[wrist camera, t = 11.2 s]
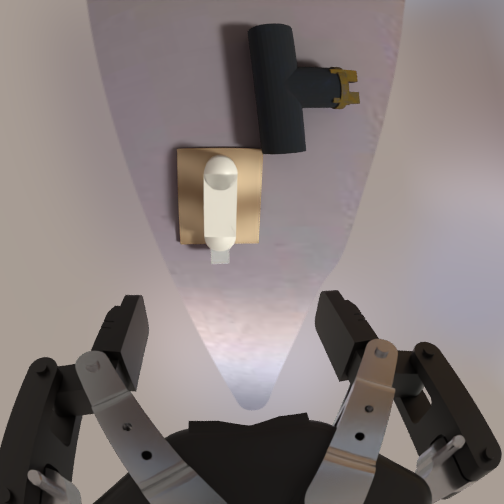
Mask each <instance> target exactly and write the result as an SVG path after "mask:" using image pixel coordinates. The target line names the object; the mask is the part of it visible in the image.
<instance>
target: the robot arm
mask: <svg viewBox="0 0 504 504" xmlns="http://www.w3.org/2000/svg"><path fill="white" fill-rule="evenodd" d="M148 326H149V325H148V319H147V315H146V310H145V305H144V300H143V297H142V295H126V296H125V297H124V299H123V301H122V303H121V306H114V307H113V308H112V309H111V310H110V311H109V312H108V313H107V315H106V317H105V320H104V322H103V324H102V326H101V329H100V331H99V333H98V335H97V338H96V340H95V342H94V345H93V347H92V349H91V351H89V352H86V353H84V354H82V355H81V356H80V357H79V358H78V359H77V361H76V364H72V365H66V366H57V364H56V362H55V361H54V360H53V359H51V358H48V357H43V358H39V359H37V360H36V361H34V362H33V363H32V364H31V366H30V367H29V369H28V372H27V374H26V376H25V379H24V381H23V383H22V386H21V388H20V391H19V393H18V396H17V398H16V401H15V404H14V407H13V409H12V412H11V415H10V418H9V421H8V424H7V427H6V430H5V433H4V437H3V440H2V444H1V447H0V504H82V503H81V496H80V492H79V490H78V489H77V488H76V486H75V485H74V484H73V483H72V474H73V466H74V458H75V453H76V446H77V440H78V435H79V429H80V425H81V420H82V415H87V414H95V416H96V418H97V420H98V422H99V424H100V426H101V428H102V430H103V431H104V433H105V435H106V437H107V439H108V440H109V442H110V444H111V445H112V447H113V449H114V450H115V452H116V454H117V455H118V457H119V458H120V460H121V462H122V463H123V465H124V466H125V468H126V469H127V471H128V473H127V474H126V475H125V476H124V477H122V478H121V479H120V480H119V481H118V482H117V483H116V484H115V485H114V486H113V487H111V488H110V489H109V490H108V491H107V492H106V493H105V494H104V495H103V496H101V497H100V498H99V499H98V500H97V501H95V502H94V503H93V504H433V503H435V502H437V501H439V500H440V499H448V498H450V497H452V496H454V495H456V494H457V493H459V492H461V491H462V490H464V489H466V488H467V487H469V486H470V485H472V484H473V483H475V482H476V481H478V480H479V479H481V478H482V477H484V476H485V475H487V474H488V473H489V472H491V471H492V470H493V469H495V468H496V467H497V466H498V464H499V463H500V460H501V449H500V446H499V444H498V442H497V440H496V439H495V437H494V435H493V433H492V431H491V429H490V428H489V426H488V424H487V422H486V421H485V419H484V417H483V415H482V414H481V412H480V410H479V409H478V407H477V405H476V404H475V403H474V401H473V399H472V397H471V396H470V394H469V393H468V391H467V389H466V388H465V386H464V385H463V383H462V382H461V380H460V379H459V377H458V376H457V374H456V373H455V371H454V370H453V368H452V367H451V365H450V364H449V363H448V361H447V360H446V358H445V357H444V356H443V354H442V353H441V351H440V350H439V349H438V348H437V347H436V346H435V345H433V344H431V343H428V342H420V343H418V344H417V345H416V346H415V348H414V350H413V351H398V350H397V349H396V347H395V346H394V345H393V344H392V343H391V342H389V341H387V340H383V339H379V338H378V337H377V335H376V334H375V332H374V331H373V329H372V328H371V326H370V325H369V323H368V322H367V320H365V317H364V316H363V315H362V314H361V312H360V310H359V309H358V308H357V306H356V305H355V304H353V303H352V302H350V301H349V300H344V298H343V297H342V295H341V294H340V293H339V291H338V290H333V291H322V292H321V294H320V298H319V302H318V307H317V312H316V316H315V327H316V331H317V333H318V335H319V337H320V340H321V342H322V344H323V346H324V348H325V351H326V353H327V355H328V357H329V359H330V362H331V364H332V366H333V368H334V370H335V373H336V375H337V377H338V379H339V382H340V381H345V380H349V382H350V385H349V388H348V390H347V393H346V395H345V398H344V400H343V403H342V405H341V408H340V410H339V412H338V414H337V417H336V419H335V421H334V423H333V425H330V424H327V423H323V422H319V421H314V420H309V418H308V415H307V413H301V414H294V415H287V416H279V417H276V418H273V419H270V420H267V421H264V422H261V423H258V424H254V425H250V426H248V425H240V424H233V423H228V422H221V421H189V429H185V430H181V431H178V432H176V433H173V434H171V435H169V436H168V437H166V438H164V437H163V436H162V434H161V433H160V432H159V431H158V429H157V428H156V427H155V425H154V424H153V423H152V421H151V420H150V419H149V417H148V416H147V415H146V413H145V412H144V410H143V409H142V408H141V406H140V405H139V403H138V402H137V400H136V399H135V397H134V396H133V394H132V393H131V392H130V391H136V389H137V384H138V379H139V375H140V370H141V365H142V360H143V356H144V352H145V347H146V343H147V339H148V334H149V327H148ZM424 386H425V388H426V390H427V392H428V393H429V395H430V397H431V401H432V404H430V402H429V401H428V399H427V397H426V395H425V393H424V392H423V390H422V389H423V388H424ZM393 399H394V402H395V404H396V406H397V408H398V410H399V412H400V414H401V417H402V419H403V421H404V423H405V425H406V427H407V430H408V432H409V434H410V437H411V439H412V441H413V443H414V446H415V448H416V450H417V453H418V455H419V458H418V460H417V469H416V472H415V473H414V472H412V471H410V470H408V469H406V468H404V467H402V466H401V465H399V464H397V463H395V462H393V461H391V460H390V459H388V458H386V457H384V456H382V455H381V454H379V451H380V448H381V445H382V441H383V437H384V435H385V431H386V427H387V423H388V420H389V416H390V412H391V407H392V403H393Z"/></svg>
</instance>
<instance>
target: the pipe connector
mask: <svg viewBox="0 0 504 504" xmlns="http://www.w3.org/2000/svg"><path fill="white" fill-rule="evenodd" d="M248 38H249V46H250V54H251V62H252V70H253V78H254V86H255V94H256V103H257V112H258V120H259V129H260V139H261V148H262V154H286V153H297V152H303V151H306V145H305V133H304V122H303V111H302V108H333V109H343V108H344V107H345V106H346V105H350V104H359V103H360V100H359V92H349V83H354V82H358V81H357V73H356V71H352V70H343V69H342V68H339V67H330V68H317V67H297V60H296V53H295V46H294V39H293V33H292V28H291V27H290V26H288V25H284V24H263V25H259V26H255V27H253V28H251V29H249V30H248Z"/></svg>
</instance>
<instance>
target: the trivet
mask: <svg viewBox="0 0 504 504" xmlns="http://www.w3.org/2000/svg"><path fill="white" fill-rule="evenodd" d="M219 154H221V155H226V156H228V157H230V158H231V159H232V161H233V162H234V164H235V166H236V168H237V173H238V176H237V213H236V240H235V243H234V244H236V243H259V223H260V204H261V183H262V163H263V154H262V149H256V148H185V149H177V169H178V205H179V226H180V243H181V244H206V242H205V238H204V169H205V166H206V163H207V162H208V160H209V159H210V158H211V157H213V156H215V155H219Z"/></svg>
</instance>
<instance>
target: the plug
mask: <svg viewBox="0 0 504 504" xmlns="http://www.w3.org/2000/svg"><path fill="white" fill-rule="evenodd" d="M237 176H238V173H237V168H236V166H235V164H234V162H233V161H232V159H231V158H230V157H228V156H226V155H221V154H219V155H215V156H213V157H211V158H210V159H209V160H208V162H207V163H206V166H205V169H204V238H205V242H206V244H207V246H208V247H209V248H211V264H229V248H231V247H232V246H233V244H234V243H235V240H236V213H237Z"/></svg>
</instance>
